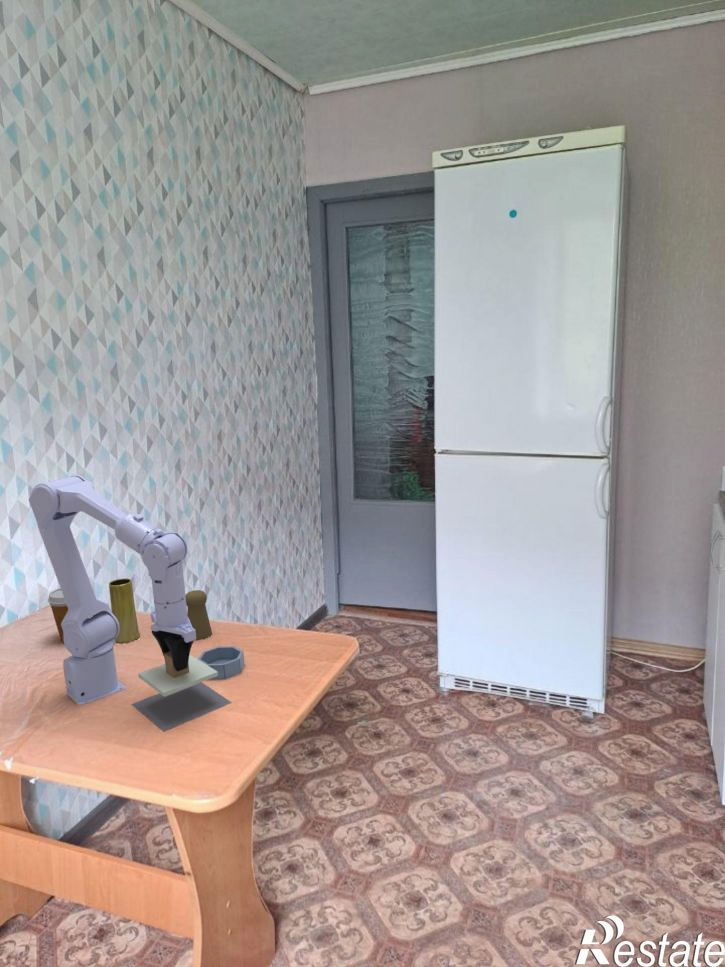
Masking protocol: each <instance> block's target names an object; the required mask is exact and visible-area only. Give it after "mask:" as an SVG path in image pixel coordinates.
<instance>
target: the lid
mask: <svg viewBox="0 0 725 967" xmlns="http://www.w3.org/2000/svg"><path fill="white" fill-rule="evenodd" d="M164 657H165V658H164ZM163 658H164V663H163V664H160V665H158V666H155V667H152V668H149V669H147V670H142V671H141V672H138V678H139V679H140V680H142V682H144V683H145V684H147V685H148V686H150V687H151V688H152V689H154V690H155V691H156V692H157V693H158V694H159V693H160V694H161V695H163V696H164V697H165V696H168V695H170V694H173V693H175V692H178V691H180V690H183V689H186V688H188V687H191V686H193V685H196V684H198V683H201V682H202V683H204V682H206V681H208V680H212V679H211V678H213V677H216V676H218V672H217V671H216V670H214V669H213V668H211V667H209V666H208V665H206V664H204V663H203V662H201V661H200V660H198V658H196V657H194V656H193V655H192V654H189V661H188V666H187V668H186V669H183V670H181V671H176V669H175V667H174V663H173V659H172V655H171V652H170V651H169V652H167V653H164V656H163Z"/></svg>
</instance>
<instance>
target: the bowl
mask: <svg viewBox="0 0 725 967" xmlns="http://www.w3.org/2000/svg"><path fill="white" fill-rule="evenodd" d="M197 659H198V660H200V661H201V662H203V663H204V664H206V665H208V666H209V667H211V668H213V669H214V670H216V671H217V672H218V676H216V677H213V678H211V679H210V680H227V679H230V678H231V677H234V676H237V675H239V674H241V673H242V671H243V669H244V667H245V665H246V664H245V654H244V650H242V649H241V648H238V647H237V646H233V645H231V646H230V645H229V646H227V645H226V646H216V647H213V648H210V649H207V650H205V651H202V652H201V653H200V655H199V657H198V658H197Z"/></svg>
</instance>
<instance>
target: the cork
mask: <svg viewBox="0 0 725 967" xmlns="http://www.w3.org/2000/svg"><path fill="white" fill-rule="evenodd" d="M185 597H186V606H187V616H188V618H189V620H190V623H191V625H192V627H193V628H194V629H195V630H196V640H195V641H201V639H202V640H205V638H206V639H209V637H211V636H212V635H213V631H212V627H211V622H210V619H209V615H208V610H207V606H206V603H207V600H208V597H207V593H206V592H205V591H203V590H200V589H199V590H198V589H197V590H196V589H195V590H191V591H188V592H187V593H185Z"/></svg>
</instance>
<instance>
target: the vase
mask: <svg viewBox="0 0 725 967" xmlns="http://www.w3.org/2000/svg"><path fill="white" fill-rule="evenodd" d="M132 582H133V581H132V579H130V578H117V579H114V580H111V581H109V582H108V589H109V598H110V599H109V600H110V607H111V608H110V610H111V612H112V613H113V615H114V616H115V617H116V618H117V620H118V622H119V626H120V631H119V634H118V636H117V637H116V638H115V643H118V644H119V643H120V644H125V643H130V642H133V641H136V640H137V639H139V638H140V637H141V633H140V631H139V625H138V618H137V612H136V605H135V604H136V603H135V598H134V590H133V589H134V588H133V584H132Z"/></svg>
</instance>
